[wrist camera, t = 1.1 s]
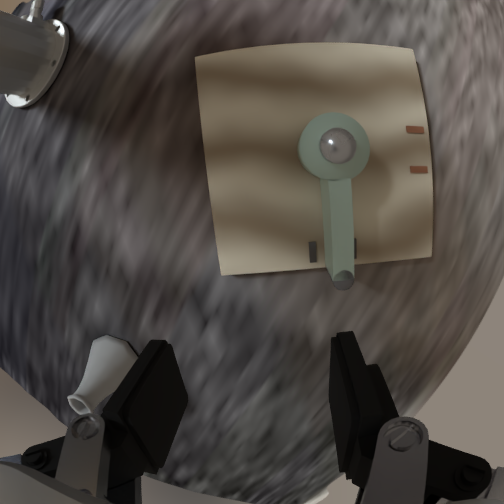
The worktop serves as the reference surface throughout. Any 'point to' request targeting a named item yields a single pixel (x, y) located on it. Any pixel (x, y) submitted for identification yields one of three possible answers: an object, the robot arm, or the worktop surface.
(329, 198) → the lock lever
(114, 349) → the flask
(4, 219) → the worktop surface
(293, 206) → the lock base
